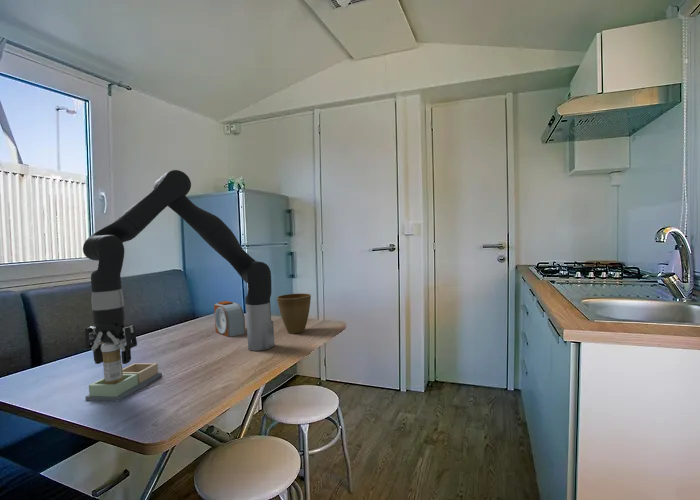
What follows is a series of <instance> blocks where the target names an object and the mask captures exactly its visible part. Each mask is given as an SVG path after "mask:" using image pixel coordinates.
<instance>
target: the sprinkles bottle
mask: <svg viewBox="0 0 700 500" xmlns="http://www.w3.org/2000/svg"><path fill="white" fill-rule="evenodd" d="M101 351H102V353H103V362H102V364H103V365H102V366H103V375H104V376H103V378H104V379H105V384H117V383H119V382H121V381H123V372H122V369H123V366H122V365H123V364H122V355H121V349H120V347H119V346H117V345H116V344H115V343H110V342H107V343H104V344H102V345H101Z"/></svg>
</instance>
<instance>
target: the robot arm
mask: <svg viewBox="0 0 700 500" xmlns="http://www.w3.org/2000/svg"><path fill="white" fill-rule="evenodd" d="M189 177H190V176H188V175H187V174H186V173H185V172H183V171H182V170H179V169H172V170H169V171H167V172H165V173H164V174H163V175H161V177H159V178H158V179H157V180H155V182H154V183H153V190H151V191H150V192H149V193H148V194H147V195H146V196H144V197H143V198H141V199H140V200H139V201H138V202H136V203H135V204H133V205H131V206H130V208H128V209H127V210H125V211H124V212H123V213H122V214H121V215H119V216H118V217H117V218H116V219H115V220H114V221H113V222H111V223H110V224H108V225H105V226H104V227H102V228H101V229H98V230H97V231H95V232H94V233H93V234H91V235H89V237H87V239H85V241H84V243H83V246H82V252H83V255H84V256H85V257H86V258H87V259H89V260H92V261H98V264H97V269H95V270H93V271H92V273H91V274H90V284H91V285H90V287H91V301H90V302H91V311H92V323H93V325H92V326H89V327H86V328H85V330H84V334H85V336H84V337H85V338H84V340H85V341H84V342H85V349H86V350H91V351H92V352H93V360H94V363H95V365H99V364H103V353H102V351H101V345H102V344H104V343H107V342H110V343H115V344H116V345H117V346H119V347H120V354H121V364H122V365H127V364H128V363H130V362H131V360H132V352H131V350H132V349H133V348H135V347H137V346H138V342H137V340H138V339H137V335H136V334H137V332H136V327H135V325H130V326H125V324H124V322H125V320H126V317H125V316H126V315H125V312H126V311H125V301H124V295H123V288H122V277H121V274H122V273H121V272H122V270H123V264H124V259H125V246H124V243H126V242H130V241H132V240H133V239H135V238H136V237H137V236H138V235H139V234H140V233H141V232H143V230H145V229H146V228H147V227H148V226H149V224H151V223H152V222H153V221H154V219H156V218H157V216H159V214H160V213H162V212H163V211H164V210H165V209H166V208H167V207H168V208H169V209H171V210H172V211H173V212H174V213H176V214H177V215H178V216H179V217H180V218H182V220H184V221H185V222H186V223H187V225H188V226H190V227H191V228H192V229H193V230H194V231H195V232H196V233H197V234H198V235H199V237H201V238H202V239H203V240H204V241H205V243H207V244H208V245H209V247H210V248H212V249H213V251H215V252H216V253H218V255H220V256H221V258H223V259H224V260H226V261H227V262H228V263H229V264H230V266H232V267H233V269H234V270H235V271H236V272H237V274H238V275H239V276H240V278H241V279H242V280H243V281H244V282H245V283H246V284H247V295H246V296H245V299H244V301H245V315H246V317H245V322H246V335H247V349H248V350H249V351H253V352H254V351H264V350H270V349H272V348H273V347H274V346H275V329H274V321H273V320H272V312H271V296H272V292H273V291H272V271H271V269H270V267H269V265H268V264H267V263H265V262H263V261H258V260H256V259H254V258H253V257H251V255H249V253H247V252H246V251H245V250H244V249H243V247H242V245H241V244H240V242H239V241H238V239H237V236H236V235H235V233H234V232H233V231H232V229H231V228H229V226H228V225H227V224H226V223H225V222H224V221H223V220H222V219H221V218H219V216H217V215H215V214H213V213H211V212H209V211H207V210H205V209H202V208H200V207H199V206H197V205H196V204H194V203H193V202H192V201H191V200H190V199H189V197H187V195H188V194H189V192H190V191H191V187H192V182H191V179H190V178H189Z"/></svg>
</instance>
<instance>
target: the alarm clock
mask: <svg viewBox="0 0 700 500" xmlns="http://www.w3.org/2000/svg"><path fill="white" fill-rule="evenodd" d="M213 310H214V326H215V330H214V331H215V333H216V334H220V335H223V336H225V337H227V338H230V337H231V338H232V337H235V336H238V335H243V334H247V331H246V317H245V313H244V312H245V311H244V310H243V308H242V306H241V304H239V303H237V302H234V301H227V300H223V301H218V302H217V303H214V304H213Z"/></svg>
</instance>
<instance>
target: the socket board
mask: <svg viewBox="0 0 700 500" xmlns="http://www.w3.org/2000/svg"><path fill="white" fill-rule="evenodd" d="M158 364H159V363H154V362H153V363H151V362H149V363H146V362H145V363H144V362H141V363H139V362H136V363H135V362H134V363H131V364H129V365H128V366H126V367H122V372H123V381H121V382H119V383H117V384H105V379H104V377H103V378H100V379H99V380H97V381H94V382H93V383H90V384H88V392H89V394H88V395H86V396H84V397H85V400H86V401H104V402H105V401H107V402H111V401H112V402H119V401H121V400H122V399H124V398H126V397H128V396H130V395H131V394H133V393H134V392H136V391H138V390H139V389H141V388H143V387H145V386H146V385H148V384H150V383H151V382H153V381H155V380H157V379H158V378H160V377H161V376H163V375H162V374H163V373H162V372H161V371H160V372H159V365H158Z"/></svg>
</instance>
